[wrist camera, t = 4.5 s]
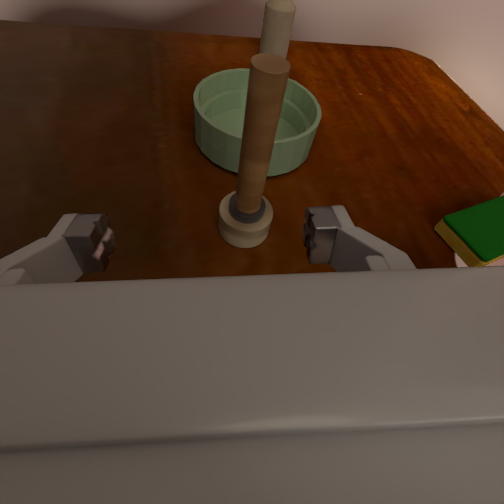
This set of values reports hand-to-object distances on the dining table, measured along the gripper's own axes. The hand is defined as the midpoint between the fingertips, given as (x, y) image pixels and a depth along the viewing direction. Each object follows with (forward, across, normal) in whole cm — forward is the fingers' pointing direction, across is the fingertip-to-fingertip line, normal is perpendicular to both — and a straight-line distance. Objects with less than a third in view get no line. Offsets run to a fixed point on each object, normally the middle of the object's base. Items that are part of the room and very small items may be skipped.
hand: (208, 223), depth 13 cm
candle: (+62, -9, +3) cm, 62 cm away
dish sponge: (+20, -34, +18) cm, 44 cm away
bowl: (+35, -4, +10) cm, 37 cm away
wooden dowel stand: (+19, -2, +14) cm, 24 cm away
